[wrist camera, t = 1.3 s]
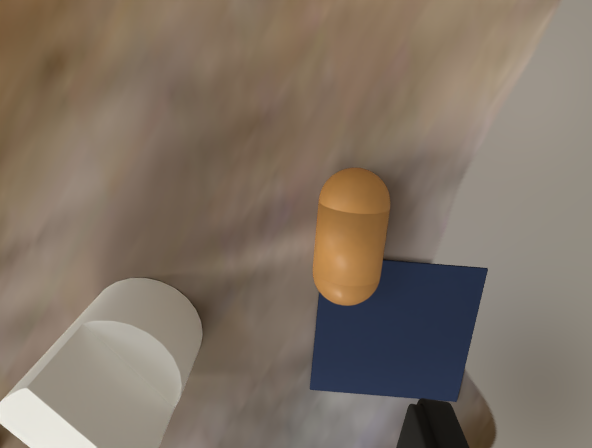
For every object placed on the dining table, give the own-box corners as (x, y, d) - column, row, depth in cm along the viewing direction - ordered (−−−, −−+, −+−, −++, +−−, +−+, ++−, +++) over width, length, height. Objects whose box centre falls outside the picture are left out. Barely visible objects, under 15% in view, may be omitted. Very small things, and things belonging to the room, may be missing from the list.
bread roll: (321, 159, 31) (322, 172, 26) (388, 164, 31) (401, 178, 26) (310, 284, 34) (309, 315, 29) (371, 289, 34) (380, 321, 29)
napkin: (322, 255, 33) (322, 255, 33) (487, 267, 33) (488, 268, 33) (309, 388, 37) (309, 389, 37) (456, 400, 37) (456, 401, 37)
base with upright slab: (66, 319, 36) (-48, 438, 25) (145, 255, 34) (60, 353, 22) (146, 393, 38) (76, 533, 27) (226, 337, 36) (185, 464, 25)
